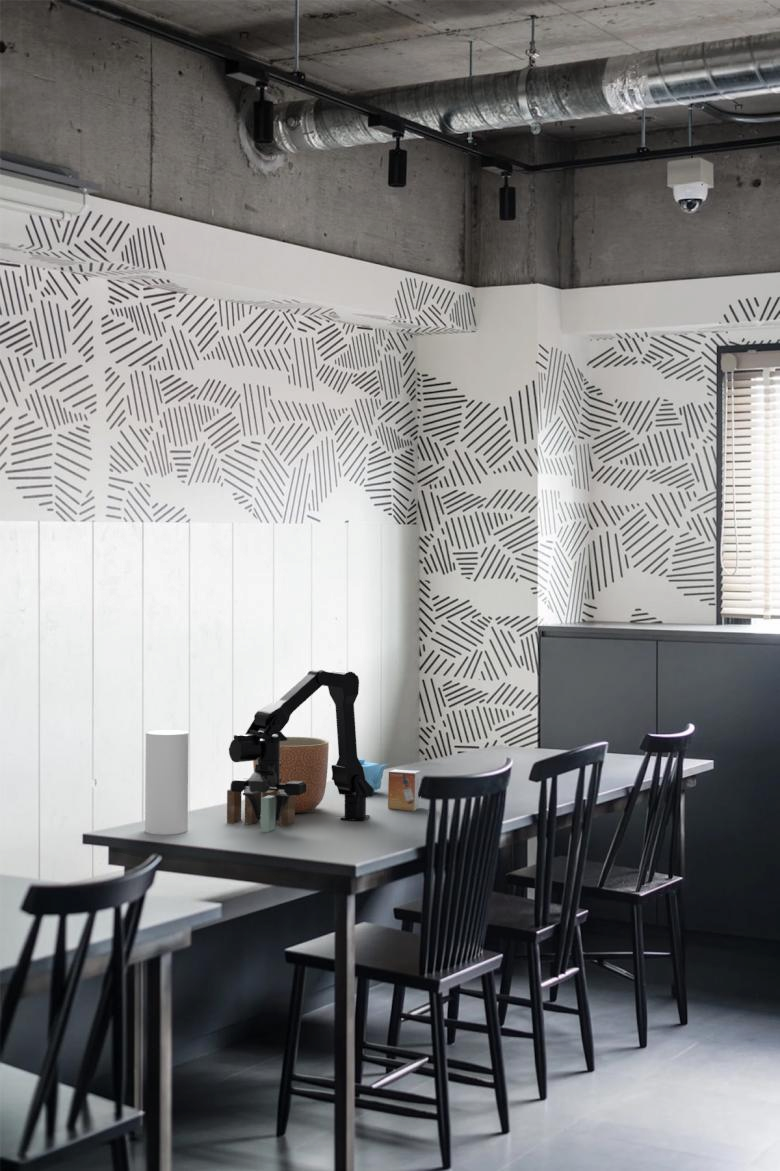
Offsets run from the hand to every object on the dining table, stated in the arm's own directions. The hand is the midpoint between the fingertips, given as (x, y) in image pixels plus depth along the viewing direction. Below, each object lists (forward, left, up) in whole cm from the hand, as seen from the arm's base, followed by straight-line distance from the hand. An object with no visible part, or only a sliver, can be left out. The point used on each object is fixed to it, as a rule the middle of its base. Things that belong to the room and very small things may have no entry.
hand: (268, 820), depth 365 cm
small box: (-43, +24, -3) cm, 49 cm away
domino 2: (-9, -8, -3) cm, 12 cm away
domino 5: (-9, +2, -3) cm, 10 cm away
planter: (-30, -5, -3) cm, 31 cm away
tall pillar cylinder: (+9, -24, -3) cm, 26 cm away
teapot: (-65, +5, -3) cm, 65 cm away
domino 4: (0, 0, -3) cm, 3 cm away
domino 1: (-9, -13, -3) cm, 16 cm away
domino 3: (-9, -3, -3) cm, 10 cm away
